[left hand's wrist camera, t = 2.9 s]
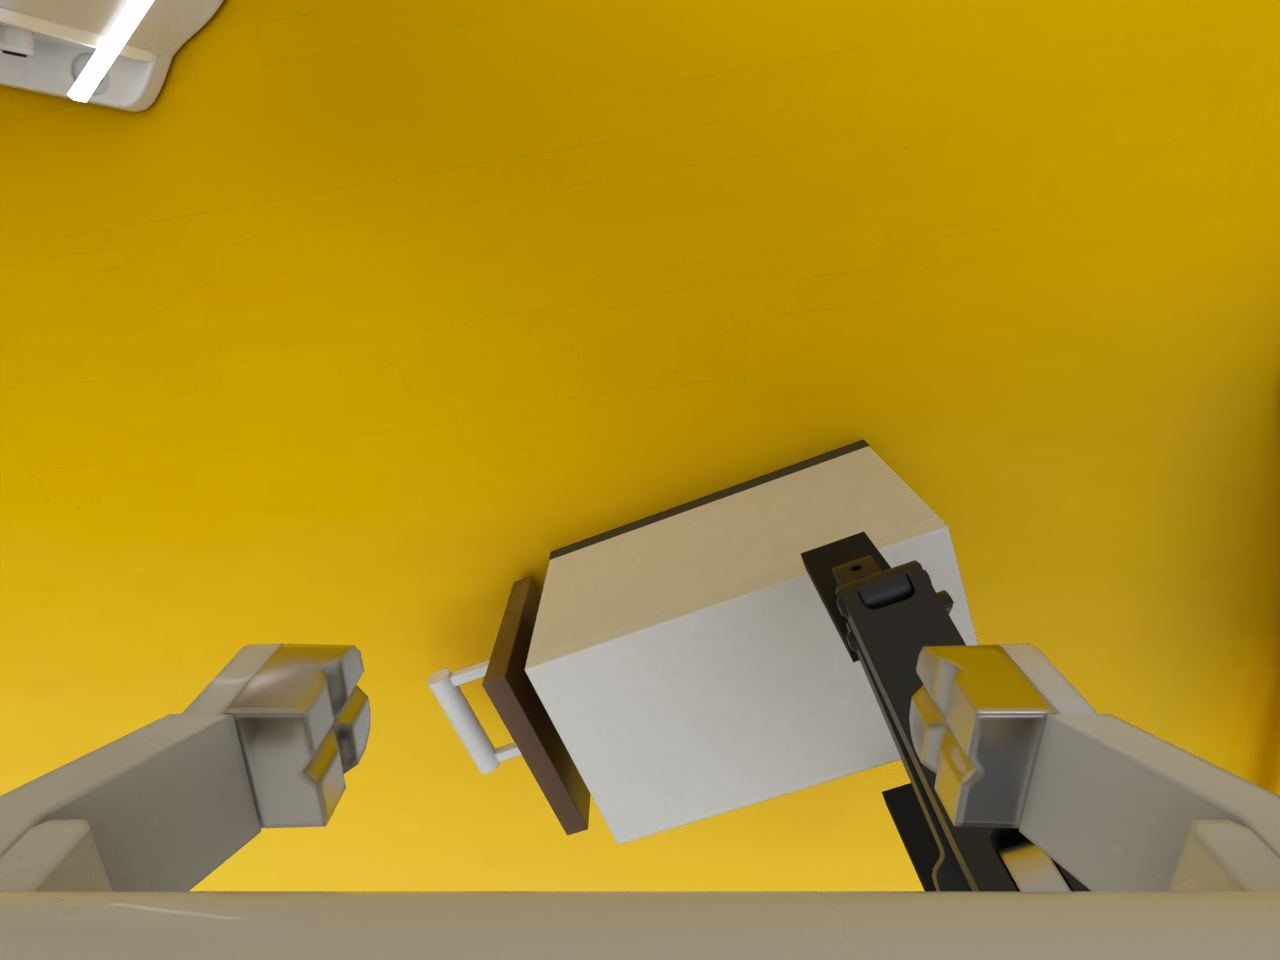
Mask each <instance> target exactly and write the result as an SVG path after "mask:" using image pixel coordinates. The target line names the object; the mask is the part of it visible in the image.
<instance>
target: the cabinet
mask: <svg viewBox="0 0 1280 960" xmlns="http://www.w3.org/2000/svg"><path fill="white" fill-rule="evenodd" d="M863 531H864V532H865V533H866V535H867V536H868V537H869V539H870V540H871V541H872V543H873V544H874V545H875V547H876V548H877V549H878V551H879V552H880V553H881V555H882V556H883V557H884V559H885V560H886V561H887V563H888V564H889V565H890V567H891V568H893V567H896V566H899V565H902V564H905V563H908V562H911V561H914V560H916V561H917V562H918V563H920V564H921V566H922V568H923V570H926V571H927V573H928V574H929V577H930V579H931V582H932V586H933V588H934V590H935V591H936V593H937V592H940V591H943V590H945V591H947V592H948V594H949V595H950V596H951V598H952V600H953V601H954V604H952V605H953V607H952V610H951V611H950V614H949V616H950V617H951V619H952V621H953V623H954V624H955V626H956V628H957V630H958V631H959V633H960V635H961V637H962V638H963V640H964V642H965V644H966V645H967V646H970V645H978V641H977V637H976V634H975V630H974V626H973V622H972V618H971V614H970V610H969V606H968V602H967V598H966V594H965V590H964V586H963V583H962V579H961V575H960V571H959V567H958V563H957V559H956V555H955V551H954V547H953V543H952V539H951V535H950V531H949V528H948V526H947V525H946V524H945V523H944V522H943V521H942V520H941V519H940V518H939V517H938V516H937V515H936V514H935V513H934V512H933V511H932V510H931V509H930V508H929V507H928V506H927V505H926V503H925V502H924V501H923V500H922V499H921V498H920V497H919V496H918V495H917V494H916V493H915V492H914V491H913V490H912V489H911V488H910V487H909V486H908V485H907V484H906V483H905V482H904V481H903V480H902V479H901V478H900V477H899V476H898V475H897V474H896V473H895V472H894V471H893V470H892V469H891V468H890V467H889V466H888V465H887V464H886V463H885V462H884V461H883V460H882V459H881V458H880V457H879V456H878V455H877V454H876V453H875V452H874V451H873V450H872V449H871V448H870V446H869V445H868V444H867V443H866V442H865V441H864V440H862V441H859V442H856V443H853V444H851V445H848V446H845V447H842V448H839V449H837V450H834V451H831V452H828V453H825V454H823V455H820V456H817V457H814V458H812V459H809V460H806V461H803V462H800V463H798V464H795V465H792V466H789V467H786V468H784V469H781V470H778V471H775V472H772V473H770V474H767V475H764V476H761V477H759V478H756V479H753V480H750V481H747V482H745V483H742V484H739V485H736V486H733V487H731V488H728V489H725V490H722V491H720V492H717V493H714V494H711V495H708V496H706V497H703V498H700V499H697V500H694V501H692V502H689V503H686V504H683V505H681V506H678V507H675V508H672V509H669V510H667V511H664V512H661V513H658V514H655V515H653V516H650V517H647V518H644V519H641V520H639V521H636V522H633V523H630V524H628V525H625V526H622V527H619V528H616V529H614V530H611V531H608V532H605V533H602V534H600V535H597V536H594V537H591V538H589V539H586V540H583V541H580V542H577V543H575V544H572V545H569V546H566V547H563V548H561V549H558V550H555V551H552V552H551V554H550V558H549V565H548V570H547V574H546V578H545V583H544V587H543V592H542V596H541V600H540V605H539V609H538V613H537V618H536V622H535V626H534V631H533V635H532V639H531V644H530V648H529V653H528V657H527V658H528V659H527V662H526V666H525V672H526V674H527V675H528V677H529V679H530V681H531V683H532V685H533V687H534V689H535V690H536V692H537V694H538V696H539V698H540V700H541V702H542V704H543V705H544V707H545V709H546V711H547V713H548V715H549V717H550V719H551V720H552V722H553V724H554V726H555V728H556V730H557V732H558V734H559V735H560V737H561V739H562V741H563V743H564V745H565V747H566V749H567V750H568V752H569V754H570V756H571V758H572V760H573V762H574V764H575V765H576V767H577V769H578V771H579V773H580V775H581V777H582V779H583V780H584V782H585V784H586V786H587V788H588V790H589V792H590V794H591V795H592V797H593V799H594V801H595V803H596V805H597V807H598V809H599V810H600V812H601V814H602V816H603V818H604V820H605V822H606V824H607V825H608V827H609V829H610V831H611V833H612V835H613V837H614V839H615V840H616V842H617V844H618V845H619V844H623V843H626V842H629V841H633V840H636V839H639V838H643V837H646V836H649V835H652V834H656V833H659V832H662V831H666V830H669V829H672V828H676V827H679V826H682V825H686V824H689V823H692V822H696V821H699V820H702V819H705V818H709V817H712V816H715V815H719V814H722V813H725V812H729V811H732V810H735V809H739V808H742V807H745V806H749V805H752V804H755V803H758V802H762V801H765V800H768V799H772V798H775V797H778V796H782V795H785V794H788V793H792V792H795V791H798V790H802V789H805V788H808V787H811V786H815V785H818V784H821V783H825V782H828V781H831V780H835V779H838V778H841V777H845V776H848V775H851V774H855V773H858V772H861V771H864V770H868V769H871V768H874V767H878V766H881V765H884V764H888V763H891V762H894V761H898V760H901V757H900V755H899V752H898V750H897V748H896V745H895V743H894V740H893V738H892V736H891V733H890V731H889V729H888V726H887V724H886V721H885V719H884V717H883V714H882V712H881V710H880V707H879V705H878V703H877V700H876V698H875V695H874V693H873V691H872V688H871V686H870V684H869V681H868V679H867V676H866V674H865V672H864V669H863V667H862V665H861V662H860V660H859V661H856V662H853V661H852V659H851V657H850V655H849V653H848V651H847V649H846V647H845V645H844V643H843V641H842V639H841V637H840V635H839V633H838V631H837V629H836V627H835V625H834V624H833V622H832V620H831V618H830V616H829V614H828V612H827V610H826V608H825V606H824V604H823V602H822V600H821V598H820V596H819V594H818V592H817V590H816V588H815V586H814V584H813V582H812V580H811V578H810V576H809V574H808V572H807V571H806V568H805V566H804V563H803V560H802V557H801V553H804V552H806V551H809V550H812V549H815V548H818V547H821V546H823V545H826V544H829V543H832V542H835V541H838V540H841V539H843V538H846V537H849V536H852V535H855V534H858V533H861V532H863Z"/></svg>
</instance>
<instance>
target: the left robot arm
mask: <svg viewBox="0 0 1280 960" xmlns="http://www.w3.org/2000/svg"><path fill="white" fill-rule="evenodd" d="M223 1H224V0H0V85H3V86H8V87H13V88H18V89H23V90H28V91H33V92H38V93H42V94H47V95H52V96H57V97H62V98H67V99H72V100H75V101H81V102H86V103H91V104H96V105H101V106H106V107H111V108H115V109H120V110H125V111H131V112H139V111H143V110H146V109H147V108H149V107H150V106H151V105H152V104H153V102H154V101H155V100H156V98H157V96H158V94H159V92H160V90H161V88H162V86H163V83H164V80H165V78H166V75H167V72H168V69H169V67H170V64H171V61H172V58H173V56H174V55H175V54H176V52H177V51H178V50H179V49H180V47H181V46H182V45H183V44H184V43H185V42H186V41H187V40H189V39H190V38H191V37H192V36H193V35H194V34H195V33H196V32H198V31H199V30H200V29H201V28H202V27H203V26H204V25H205V24H206V23H207V22H208V21H209V20H210V19H211V18H212V16H213V15H214V14H215V13H216V11H217V10H218V9H219V7H220V6H221V4H222V2H223ZM102 78H103V81H102V82H101V84H99V83H100V81H101V80H102ZM363 672H364V668H363V663H362V658H361V653H360V651H359V650H358V649H357V648H356V647H355V646H354V645H312V644H286V645H284V644H251V645H247V646H244V647H243V648H242V649H241V650H240V651H239V652H238V653H237V654H236V655H235V657H234V658H233V659H232V660H231V661H230V662H229V663H228V664H227V665H226V666H225V667H224V668H223V670H222V671H221V672H220V673H219V674H218V675H217V676H216V677H215V678H214V679H213V680H212V681H211V683H210V684H209V685H208V686H207V687H206V688H205V689H204V690H203V691H202V692H201V693H200V695H199V696H198V697H197V698H196V699H195V700H194V701H193V702H192V703H191V704H190V705H189V706H188V708H187V709H186V710H185V711H184V712H183V713H182V714H169V715H167V716H165V717H163V718H161V719H159V720H157V721H155V722H153V723H151V724H149V725H147V726H145V727H142V728H140V729H138V730H136V731H134V732H132V733H130V734H128V735H126V736H124V737H122V738H120V739H118V740H116V741H114V742H111V743H109V744H107V745H105V746H103V747H101V748H99V749H97V750H95V751H93V752H91V753H89V754H87V755H85V756H82V757H80V758H78V759H76V760H74V761H72V762H70V763H68V764H66V765H64V766H62V767H60V768H58V769H56V770H53V771H51V772H49V773H47V774H45V775H43V776H41V777H39V778H37V779H35V780H33V781H31V782H29V783H27V784H24V785H22V786H20V787H18V788H16V789H14V790H12V791H10V792H8V793H6V794H4V795H2V796H0V960H1280V796H1278V795H1276V794H1274V793H1272V792H1270V791H1267V790H1265V789H1263V788H1261V787H1259V786H1257V785H1255V784H1253V783H1251V782H1249V781H1247V780H1245V779H1243V778H1241V777H1239V776H1237V775H1234V774H1232V773H1230V772H1228V771H1226V770H1224V769H1222V768H1220V767H1218V766H1216V765H1214V764H1212V763H1210V762H1208V761H1206V760H1203V759H1201V758H1199V757H1197V756H1195V755H1193V754H1191V753H1189V752H1187V751H1185V750H1183V749H1181V748H1179V747H1177V746H1175V745H1173V744H1170V743H1168V742H1166V741H1164V740H1162V739H1160V738H1158V737H1156V736H1154V735H1152V734H1150V733H1148V732H1146V731H1144V730H1142V729H1140V728H1137V727H1135V726H1133V725H1131V724H1129V723H1127V722H1125V721H1123V720H1121V719H1119V718H1117V717H1115V716H1113V715H1111V714H1098V713H1097V712H1096V711H1095V710H1094V709H1093V708H1092V706H1091V705H1090V704H1089V703H1088V702H1087V701H1086V700H1085V699H1084V698H1083V697H1082V696H1081V694H1080V693H1079V692H1078V691H1077V690H1076V689H1075V688H1074V687H1073V686H1072V685H1071V684H1070V683H1069V681H1068V680H1067V679H1066V678H1065V677H1064V676H1063V675H1062V674H1061V673H1060V672H1059V671H1058V670H1057V668H1056V667H1055V666H1054V665H1053V664H1052V663H1051V662H1050V661H1049V660H1048V659H1047V658H1046V656H1045V655H1044V654H1043V653H1042V652H1041V651H1040V650H1039V649H1038V648H1037V647H1035V646H1033V645H1031V644H1028V643H1023V644H994V645H970V646H923V648H922V650H921V652H920V654H919V656H918V662H917V668H916V672H917V674H918V675H919V677H920V679H921V680H922V682H923V684H924V685H923V686H922V687H921V688H920V689H919V690H918V691H917V692H916V693H915V694H914V695H913V696H912V699H911V707H910V715H909V719H910V729H911V737H912V741H913V744H914V748H915V751H916V753H917V755H918V757H919V759H920V761H921V763H922V764H923V765H924V766H926V767H927V768H928V769H930V770H931V771H933V772H934V773H936V774H937V775H936V781H935V787H934V789H935V791H936V792H937V794H938V796H939V798H940V800H941V802H942V804H943V806H944V808H945V810H946V812H947V814H948V816H949V817H950V819H951V821H952V823H953V825H954V826H957V827H993V828H1019V832H1020V833H1022V834H1023V835H1024V836H1025V837H1026V838H1028V839H1029V840H1030V841H1031V842H1032V843H1034V844H1035V845H1036V846H1037V847H1039V848H1040V849H1041V850H1042V851H1043V852H1045V853H1046V854H1047V855H1048V856H1049V857H1051V858H1052V859H1053V860H1054V861H1056V862H1057V863H1058V864H1059V865H1060V866H1062V867H1063V868H1064V869H1065V870H1066V871H1068V872H1069V873H1070V874H1071V875H1072V876H1074V877H1075V878H1076V879H1077V880H1079V881H1080V882H1081V883H1082V884H1083V885H1085V886H1086V887H1087V888H1088V889H1089V890H1091V891H1085V892H848V891H723V892H216V891H190V890H191V889H192V888H193V887H194V886H196V885H197V884H198V883H199V882H200V881H202V880H203V879H204V878H205V877H207V876H208V875H209V874H210V873H211V872H213V871H214V870H215V869H216V868H217V867H219V866H220V865H221V864H222V863H224V862H225V861H226V860H227V859H228V858H230V857H231V856H232V855H233V854H234V853H236V852H237V851H238V850H239V849H241V848H242V847H243V846H244V845H245V844H247V843H248V842H249V841H250V840H251V839H253V838H254V837H255V836H256V835H258V834H259V833H260V832H261V828H286V827H321V826H326V825H327V823H328V821H329V819H330V818H331V816H332V814H333V812H334V810H335V808H336V806H337V804H338V802H339V800H340V798H341V796H342V794H343V792H344V791H345V789H346V787H345V781H344V775H343V774H344V773H346V772H347V771H349V770H350V769H352V768H353V767H354V766H356V765H357V764H358V763H359V761H360V759H361V757H362V755H363V753H364V751H365V749H366V744H367V740H368V735H369V731H370V705H369V699H368V696H367V695H366V694H365V693H364V692H363V691H362V690H361V689H360V688H359V687H358V686H357V685H356V684H357V682H358V681H359V679H360V677H361V675H362V674H363Z"/></svg>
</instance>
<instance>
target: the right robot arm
mask: <svg viewBox="0 0 1280 960" xmlns="http://www.w3.org/2000/svg"><path fill="white" fill-rule="evenodd" d="M801 557H802V560H803V563H804V566H805V568H806V571H807V572H808V574H809V576H810V578H811V580H812V582H813V584H814V586H815V588H816V590H817V592H818V594H819V596H820V598H821V600H822V602H823V604H824V606H825V608H826V610H827V612H828V614H829V616H830V618H831V620H832V622H833V624H834V625H835V627H836V629H837V631H838V633H839V635H840V637H841V639H842V641H843V643H844V645H845V647H846V649H847V651H848V653H849V655H850V657H851V659H852V661H853V662H856V661H859V660H860V662H861V665H862V667H863V669H864V672H865V674H866V676H867V679H868V681H869V684H870V686H871V688H872V691H873V693H874V695H875V698H876V700H877V703H878V705H879V707H880V710H881V712H882V714H883V717H884V719H885V721H886V724H887V726H888V729H889V731H890V733H891V736H892V738H893V740H894V743H895V745H896V748H897V750H898V752H899V755H900V757H901V759H902V762H903V764H904V767H905V769H906V771H907V774H908V776H909V778H910V781H911V783H910V784H906V785H903V786H900V787H897V788H893V789H890V790H887V791H884V792H882V794H883V797H884V800H885V802H886V805H887V807H888V809H889V812H890V814H891V816H892V818H893V821H894V823H895V825H896V827H897V830H898V832H899V834H900V836H901V839H902V841H903V843H904V845H905V848H906V850H907V852H908V854H909V857H910V859H911V861H912V864H913V866H914V868H915V870H916V873H917V875H918V877H919V879H920V882H921V884H922V886H923V888H924V891H925V892H1085V891H1091V890H1089V889H1088V888H1087V887H1086V886H1085V885H1083V884H1082V883H1081V882H1080V881H1079V880H1077V879H1076V878H1075V877H1074V876H1072V875H1071V874H1070V873H1069V872H1068V871H1066V870H1065V869H1064V868H1063V867H1062V866H1060V865H1059V864H1058V863H1057V862H1056V861H1054V860H1053V859H1052V858H1051V857H1049V856H1048V855H1047V854H1046V853H1045V852H1043V851H1042V850H1041V849H1040V848H1039V847H1037V846H1036V845H1035V844H1034V843H1032V842H1031V841H1030V840H1029V839H1028V838H1026V837H1025V836H1024V835H1023V834H1022V833H1020V832H1019V828H993V827H957V826H954V825H953V823H952V821H951V819H950V817H949V816H948V814H947V812H946V810H945V808H944V806H943V804H942V802H941V800H940V798H939V796H938V794H937V792H936V791H935V789H934V787H935V781H936V775H937V774H936V773H934V772H933V771H931V770H930V769H928V768H927V767H926V766H924V765H923V764H922V763H921V761H920V759H919V757H918V755H917V753H916V751H915V748H914V744H913V741H912V737H911V729H910V719H909V715H910V707H911V699H912V696H913V695H914V694H915V693H916V692H917V691H918V690H919V689H920V688H921V687H922V686H923V685H924V684H923V682H922V680H921V679H920V677H919V675H918V674H917V672H916V668H917V662H918V656H919V654H920V652H921V650H922V648H923V646H967V645H966V644H965V642H964V640H963V638H962V637H961V635H960V633H959V631H958V630H957V628H956V626H955V624H954V623H953V621H952V619H951V617H950V616H949V614H950V611H951V610H952V607H953V605H952V604H954V601H953V600H952V598H951V596H950V595H949V594H948V592H947V591H945V590H943V591H940V592H937V593H936V591H935V590H934V588H933V586H932V582H931V579H930V577H929V574H928V573H927V571H926V570H923V568H922V566H921V564H920V563H918V562H917V561H916V560H914V561H911V562H908V563H905V564H902V565H899V566H896V567H893V568H891V567H890V565H889V564H888V563H887V561H886V560H885V559H884V557H883V556H882V555H881V553H880V552H879V551H878V549H877V548H876V547H875V545H874V544H873V543H872V541H871V540H870V539H869V537H868V536H867V535H866V533H865V532H864V531H863V532H861V533H858V534H855V535H852V536H849V537H846V538H843V539H841V540H838V541H835V542H832V543H829V544H826V545H823V546H821V547H818V548H815V549H812V550H809V551H806V552H804V553H801Z"/></svg>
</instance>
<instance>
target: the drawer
mask: <svg viewBox="0 0 1280 960" xmlns="http://www.w3.org/2000/svg"><path fill="white" fill-rule="evenodd" d="M540 600H541V594H540V592H539V590H538V588H537V586H536V584H535V582H534V580H533V578H532V576H530V577H528V578H525V579H522V580H519V581H516V582H514V584H513V587H512V590H511V594H510V597H509V600H508V603H507V607H506V610H505V613H504V616H503V619H502V623H501V626H500V629H499V632H498V636H497V639H496V642H495V645H494V648H493V652H492V655H491V658H490V659H489V660H487V661H484V662H481V663H478V664H475V665H472V666H469V667H466V668H463V669H460V670H457V671H454V672H452V674H451V672H450V670H449V669H447V668H445V669H441V670H438V671H437V672H435V673H434V674H432V675H431V676H430V677H429V679H428V681H427V684H428V685H429V687H430V689H431V690H432V692H433V694H434V695H435V697H436V699H437V700H438V702H439V704H440V706H441V707H442V709H443V711H444V712H445V714H446V716H447V717H448V719H449V721H450V722H451V724H452V726H453V727H454V729H455V731H456V732H457V734H458V736H459V737H460V739H461V741H462V742H463V744H464V746H465V747H466V749H467V751H468V752H469V754H470V756H471V757H472V759H473V761H474V762H475V764H476V766H477V767H478V769H479V771H480V772H481V773H483V774H487V773H490V772H492V771H493V770H495V769H496V768H497V767H498V766H499V764H500V762H501V761H504V760H507V759H510V758H513V757H517V756H520V755H522V756H523V758H524V759H525V761H526V763H527V765H528V766H529V768H530V770H531V772H532V774H533V775H534V777H535V779H536V781H537V782H538V784H539V786H540V788H541V790H542V791H543V793H544V795H545V797H546V798H547V800H548V802H549V804H550V806H551V807H552V809H553V811H554V813H555V814H556V816H557V818H558V820H559V821H560V823H561V825H562V827H563V829H564V830H565V832H566V834H567V835H570V834H574V833H577V832H580V831H583V830H587V829H588V821H589V807H590V792H589V790H588V788H587V786H586V784H585V782H584V780H583V779H582V777H581V775H580V773H579V771H578V769H577V767H576V765H575V764H574V762H573V760H572V758H571V756H570V754H569V752H568V750H567V749H566V747H565V745H564V743H563V741H562V739H561V737H560V735H559V734H558V732H557V730H556V728H555V726H554V724H553V722H552V720H551V719H550V717H549V715H548V713H547V711H546V709H545V707H544V705H543V704H542V702H541V700H540V698H539V696H538V694H537V692H536V690H535V689H534V687H533V685H532V683H531V681H530V679H529V677H528V675H527V674H526V672H525V666H526V662H527V659H528V658H527V657H528V653H529V648H530V644H531V639H532V635H533V631H534V626H535V622H536V618H537V613H538V609H539V605H540ZM484 676H485V677H484ZM481 677H484V681H483V687H484V688H485V690H486V692H487V694H488V696H489V697H490V699H491V701H492V703H493V704H494V706H495V708H496V710H497V712H498V713H499V715H500V717H501V719H502V720H503V722H504V724H505V726H506V727H507V729H508V731H509V733H510V735H511V736H512V738H513V740H514V743H511V744H508V745H505V746H502V747H499V748H496V750H495V748H494V746H493V744H492V743H491V741H490V739H489V737H488V736H487V734H486V732H485V731H484V729H483V727H482V725H481V724H480V722H479V720H478V718H477V717H476V715H475V713H474V712H473V710H472V708H471V706H470V705H469V703H468V701H467V699H466V698H465V696H464V694H463V693H462V691H461V689H460V687H459V686H458V685H461V684H464V683H466V682H469V681H472V680H475V679H478V678H481Z"/></svg>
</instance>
